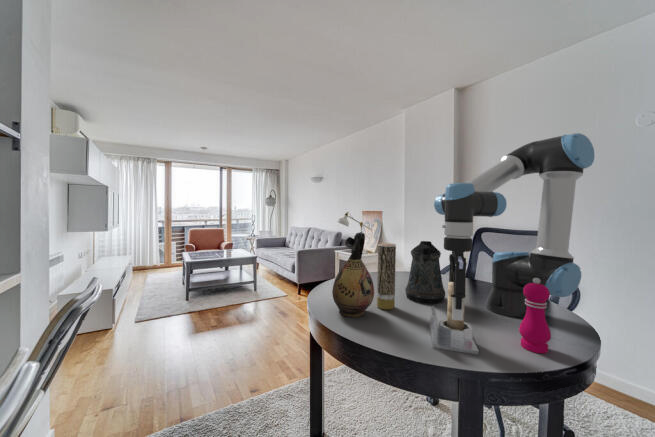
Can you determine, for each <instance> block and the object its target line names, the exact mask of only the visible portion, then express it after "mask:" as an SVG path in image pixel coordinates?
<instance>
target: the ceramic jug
mask: <svg viewBox="0 0 655 437" xmlns="http://www.w3.org/2000/svg"><path fill="white" fill-rule="evenodd" d="M365 240H366V235H365V233H364V232H362V231H360V232H356V233H355V235H354V238H352V237H351V236H350V237H349V236H348V237H347V238H346V240H345V241H344V245H345V246H346V247H347V248H348V249H350V250H351V254H350V256H349V257H348V259H347V260H346V261H345V263H344V264H343V266H342V267H341V268H340V270H339V271H338V273H337V275H336V277H335V279H334V281H333V284H332V285H333V286H332V290H331V291H332V292H331V295H332V299H333V301H334V303H335V306H336V307H337V308H338V313H339V314H340V315H342V316H343V317H352V318H357V317H362V316H364V314H365V312H366V311H367V309H368V308H369V307H370V306H371V304H372V302H373V300H374V296H375V287H374V282H373V278H372V276H371V275H370V272H369V270H368V268H367V267H366V265H365V263H364V261H363V260H362V258H363V252H364V247H365Z"/></svg>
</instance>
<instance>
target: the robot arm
mask: <svg viewBox="0 0 655 437" xmlns="http://www.w3.org/2000/svg"><path fill="white" fill-rule="evenodd" d="M594 161H595V148H594V146H593V143H592V142H591V139H589V137H588V136H586V135H585V134H583V133H579V132H577V133H571V134H563V135H560V136H559V135H558V136H555V137H550V138H545V139H541V140H535V141H532V142H529V143H526V144H524V145H522V146H520V147H518V148H516V149H514V150H512V151H511V152H510V153H507V154H506V155H504V156H502V157H501V158H500V159H499V162H498V163H497V164H495V165H493V166H492V167H490V168H488V169H486V170H484V172H481V173H480V174H478V175H477V176H476V177H474V178H473V179H470V180H469V181H467V182H455V183H454V182H453V183H450V184H447V185H446V186H445V193H442V194H438V195H437V196H436V197H435V199H434V202H433V207H434V210H435V212H436V213H437V214H439V215H442V216H444V224H442V225H441V226H442V227H441V228H442V229H444V230H443V232H444V235H445V237H443V249H444V250H445V251H449V252H451V253H449V257H448V260H449V265H448V266H449V275H448V276H449V277H448V279H449V280H448V282H454V294H453V295H451V297H453V305H452V320H460V321H463V303H464V304H465V301H464V298H466V279H467V277H466V273H467V258H466V257H465V255H464V253H465V252H467V253H469V252H472V250H473V239H472V238H471V237H473V236H474V235H473V234H474V217H483V218H484V217H485V218H486V217H489V218H494V217H499V216H501V215H502V214H503V213H504V212H505V211H506V208H507V199H506V197H505V196H504V195H503V194H502V193H500V192H497V191H496V190H497V189H498V188H500V187H502V186H504V185H505V184H507V183H508V182H509V181H511V180H517V179H519V178H521V177H522V176H526V175H531V174H532V175H533V174H538V177H539V178H541V179H542V182H543V184H542V192H541V193H542V194H541V202H540V209H539V211H540V212H539V218H538V227H537V237H536V246H535V248H534V249H532V250H531V251H530V252H529V251H524V250H523V251H519V250H517V251H514V250H513V251H510V250H509V251H496V252H495V253H493V256H492V262H491V263H492V269H491V270H492V271H491V273H492V275H491V290H490V291H489V295H488V296H487V299H486V301H485V302H486V303H485V305H486V306H485V307H486V308H487V309H488V310H489V311H491V312H493V313H496V314H499V315H502V316H507V317H513V318H524V317H525V315H526V310H527V305H526V304H525V299H527V298H526V297H525V295H524V294H523V289H524V287H525V285H527V284H529V283H533V279H534V278H539V279H540V281H541V282H540V284H542V285H544V286H546V287H547V288H548V290H549V292H550V296H554V297H559V298H566V297H569V296H571V295H572V294H574V292H575V291H576V290H577V289H578V288H579V286H580V284H581V279H582V271H581V267H580V265H578V264H576V263H574V256H573V255H572V254H571V253H570V252H569V248H570V240H571V231H572V230H571V229H572V221H573V220H572V219H573V214H574V213H573V212H574V203H575V202H574V201H575V194H576V185H577V184H576V182H577V180H578V179H580V178H581V177H583V175H584V169H588V168H590V167H591V166H592V165H593V163H594ZM494 191H495V192H494Z"/></svg>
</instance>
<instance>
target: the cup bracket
mask: <svg viewBox="0 0 655 437" xmlns="http://www.w3.org/2000/svg"><path fill="white" fill-rule="evenodd" d="M429 319H430V320H429V321H430V322H429V323H430V324H429V331H430V332H429V333H430V338H431V339H430V340H431V345H432V348H433V349H439V350H445V351H451V352H459V353H466V354H471V355H472V354H473V355H479V353H480V352H479V349H478V347H477V345H476V342H475V341H474V338H473V331H474V329H473V327H472V326H471V324H470V323H467V322H465V321H464V330H457V329H451V328H449V327H447V318H445V319H441V320H438V316H437V313H436V309H435V306H434V305H430V318H429Z"/></svg>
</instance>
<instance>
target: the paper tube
mask: <svg viewBox="0 0 655 437" xmlns="http://www.w3.org/2000/svg"><path fill="white" fill-rule="evenodd" d="M377 245H378V246H377V278H376V279H377V282H376V283H377V284H376V287H377V288H376V290H377V292H376V297H377V298H376V305H377V306H376V307H377V308H379V309H381V310H386V311H387V310H388V311H390V310H393V309H394V308H395V305H396V304H395V302H396V301H395V298H396V297H395V296H396V262H397V261H396V260H397V258H396V256H397V254H396V253H397V251H396V250H397V249H396V248H397V244H395V243H387V242H386V243H385V242H381V243H378V244H377Z"/></svg>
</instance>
